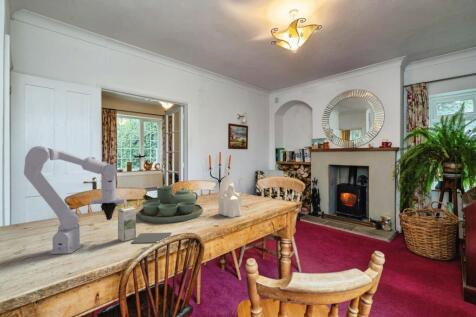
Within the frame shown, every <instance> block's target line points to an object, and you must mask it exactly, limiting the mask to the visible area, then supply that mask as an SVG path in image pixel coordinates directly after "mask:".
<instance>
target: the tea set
mask: <svg viewBox="0 0 476 317" xmlns="http://www.w3.org/2000/svg"><path fill="white" fill-rule="evenodd" d="M156 190H157V193H156V196H157V199H156V198H155V199H154V198H152V199H145V200H142V202H141V203H142V208H141V209H140V210H139V211H138V213H137V215H138V217H139V218H140V220H141V221H143V222H148V223H153V224H154V223H155V224H156V223H157V224H170V223H179V222H185V221H190V220H192V219H195V218H198V217H199V216H201V215H202V214H203V212H204V209H203V206H201V205H200V204H197V201H198V198H199V196H198V193H197V192H196V191H192V192H191V190H190V189H188V188H184V187H183V188H180V189H179V188H178V189H177V190H175V192H173V190H174V186H173V185H158V186H156Z"/></svg>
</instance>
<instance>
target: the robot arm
mask: <svg viewBox="0 0 476 317" xmlns="http://www.w3.org/2000/svg"><path fill="white" fill-rule="evenodd" d="M48 160H50V161H57V160H59V161H60V160H61V161H64V162H68V163H70V164H75V165H78V166H80V167H81V168H82V170H83V171H86V172H90V173H95V174H97V175H99V174H100V175H101V182H100V183H101V198H93V199H91V201H90V202H91V205H100V208H101V209H102V211H103V213H104V215H105V218H106V220H107V221H110V220H112V219H113V215H114V212H115V210H116V207H117V204H121V205H124V204H127V198H117V196H116V195H117V187H116V186H117V185H116V184H117V183H116V182H117V181H116V176H117V174H118V169H117V167H116V166H115V165H114V164H112V163H111V164H110V163H108V162H107V161H105V160H104V161H102V160H99V159H97V158H96V157H95V156H92V157H86V158H83V157H80V156H77V155H74V154H71V153H68V152H65V151H63V150H60V149H55V148H50V147H44V146H41V145H37V146H36V145H35V146H33V147H31V148H30V149H29V150H28V152H27V153H26V155H25V157H24V169H23V175H24V177H25V178H26V179H27V180H28V182H29V183H30V184H31V185H32V186H33V187H34V189H35V190H36V191H37V192H38V194H39V195H40V196H41V198H43V200H44V201H45V202H46V204H47V205H48V206H49V207H50V209H51V210H52V211H53V212H54V214H55V215H56V217H57V218H58V221H59V224H60V225H58V227H57V231H56V233H55V234H54V235H53V236H52V240H51V241H52V251H51V252H50V254H51V255H57V254H58V255H59V254H60V255H61V254H62V255H63V254H72V253H74V252H75V251H77V250H78V249H80V248H81V247H82V246H84V245H85V242H81V239H80V238H81V237H80V234H81V233H80V231H81V230H80V224H79V223H80V216H78V215H77V212H76V211H75V210H73V209H72V208H71V209H70V208H69V206H68V205H67V204H66V202H64V200H63V199H62V198H61V197H60V195H59V194H58V192H57V191H56V190H55V189H54V188H53V186H52V185H51V184H50V182H49V181H48V180H47V178H46V177H45V176H44V175H43V173H42V170H43V167H44V165H45V163H46V162H48Z"/></svg>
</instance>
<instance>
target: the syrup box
mask: <svg viewBox="0 0 476 317" xmlns="http://www.w3.org/2000/svg"><path fill="white" fill-rule="evenodd" d="M136 213H137V210H136V208H135V207H133V206H127V207H121V208H118V209H117V229H118V230H117V234H118V235H117V237H118V238H117V239H118V240H119V241H121V242H129V241H131V240H132V241H133V240H134V239H135V238H136V237H137V236H136V235H137V234H136V233H137V232H136V230H137V225H136V224H137V223H136V222H137V219H136V218H137V215H136Z"/></svg>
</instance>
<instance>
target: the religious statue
mask: <svg viewBox="0 0 476 317" xmlns="http://www.w3.org/2000/svg"><path fill="white" fill-rule="evenodd" d="M225 168H226V169H225V170H223V171H224V172H223V173H224V174H225V177H223V178H222V181H221V182H219V189H218V190H219V191H218V200H217V201H218V203H217V204H218V208H217V209H218V212H217V213H218V214H219V215H221V216H224V217H228V218H235V217H241V216H243V212H242V210H243V209H242V192H241V180H243V181H247V182H250V180H249V179H248V178H246V177H242V176H239V177H238V190H239V191H238V192H236V190H235V185H234V182H233V181H232V179H231V177H230V176H229V174H230V173H231V170H230V169H229V167H225ZM250 183H251V182H250Z"/></svg>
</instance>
